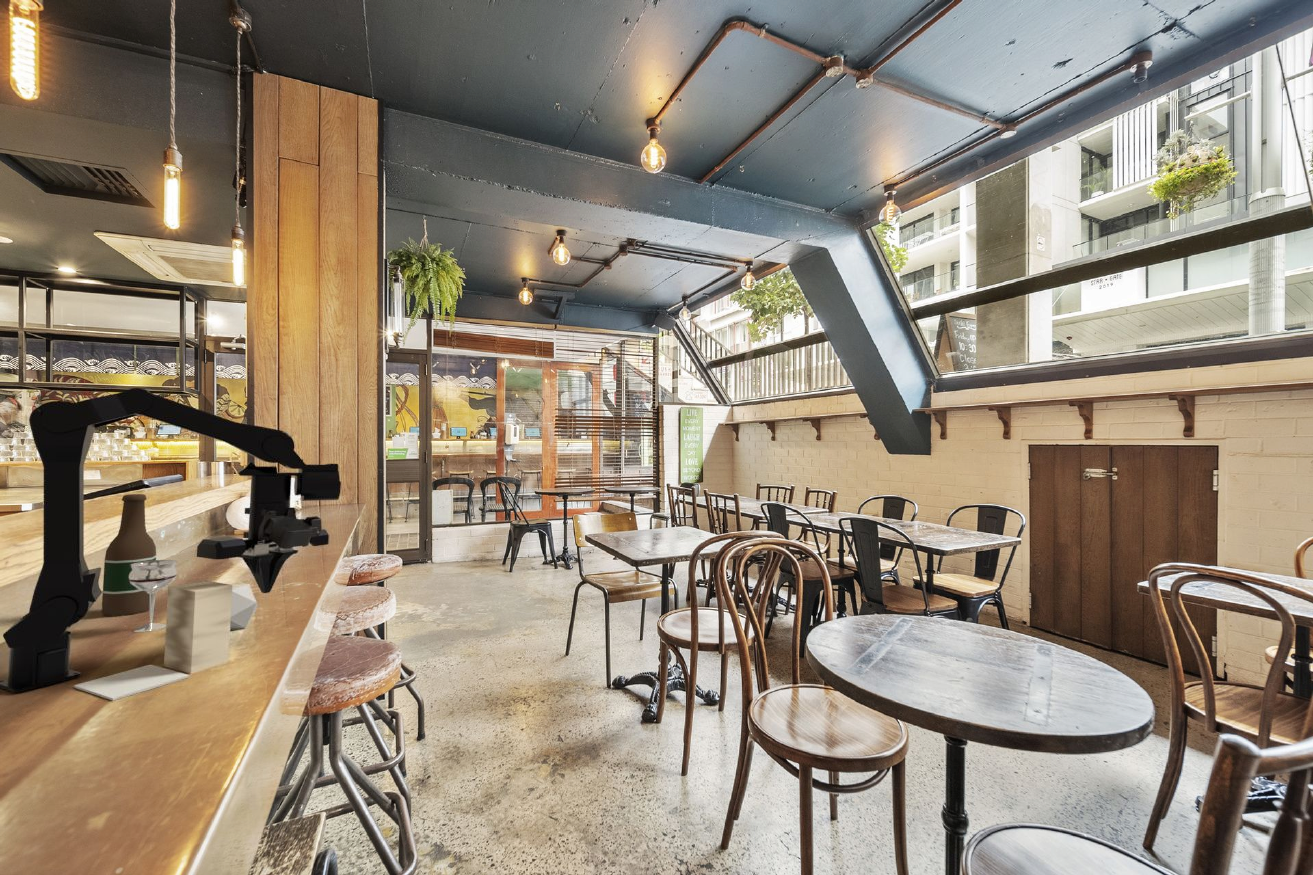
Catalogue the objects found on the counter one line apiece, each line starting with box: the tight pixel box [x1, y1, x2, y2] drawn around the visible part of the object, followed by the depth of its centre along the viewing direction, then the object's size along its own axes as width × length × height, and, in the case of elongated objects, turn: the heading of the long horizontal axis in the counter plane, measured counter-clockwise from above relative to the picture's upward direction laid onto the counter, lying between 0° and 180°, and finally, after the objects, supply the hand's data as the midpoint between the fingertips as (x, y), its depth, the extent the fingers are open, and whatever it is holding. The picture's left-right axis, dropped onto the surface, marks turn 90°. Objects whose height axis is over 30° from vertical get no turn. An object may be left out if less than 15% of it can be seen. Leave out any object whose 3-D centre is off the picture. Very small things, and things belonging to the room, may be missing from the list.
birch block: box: [163, 580, 232, 674], centre depth 84 cm, size 7×5×12 cm
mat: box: [73, 664, 190, 702], centre depth 77 cm, size 10×8×1 cm
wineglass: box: [129, 559, 178, 633], centre depth 102 cm, size 7×7×12 cm
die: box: [230, 583, 259, 631], centre depth 102 cm, size 8×9×10 cm
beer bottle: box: [101, 493, 157, 617], centre depth 112 cm, size 8×8×24 cm
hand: (265, 592), depth 94 cm, fingers closed
